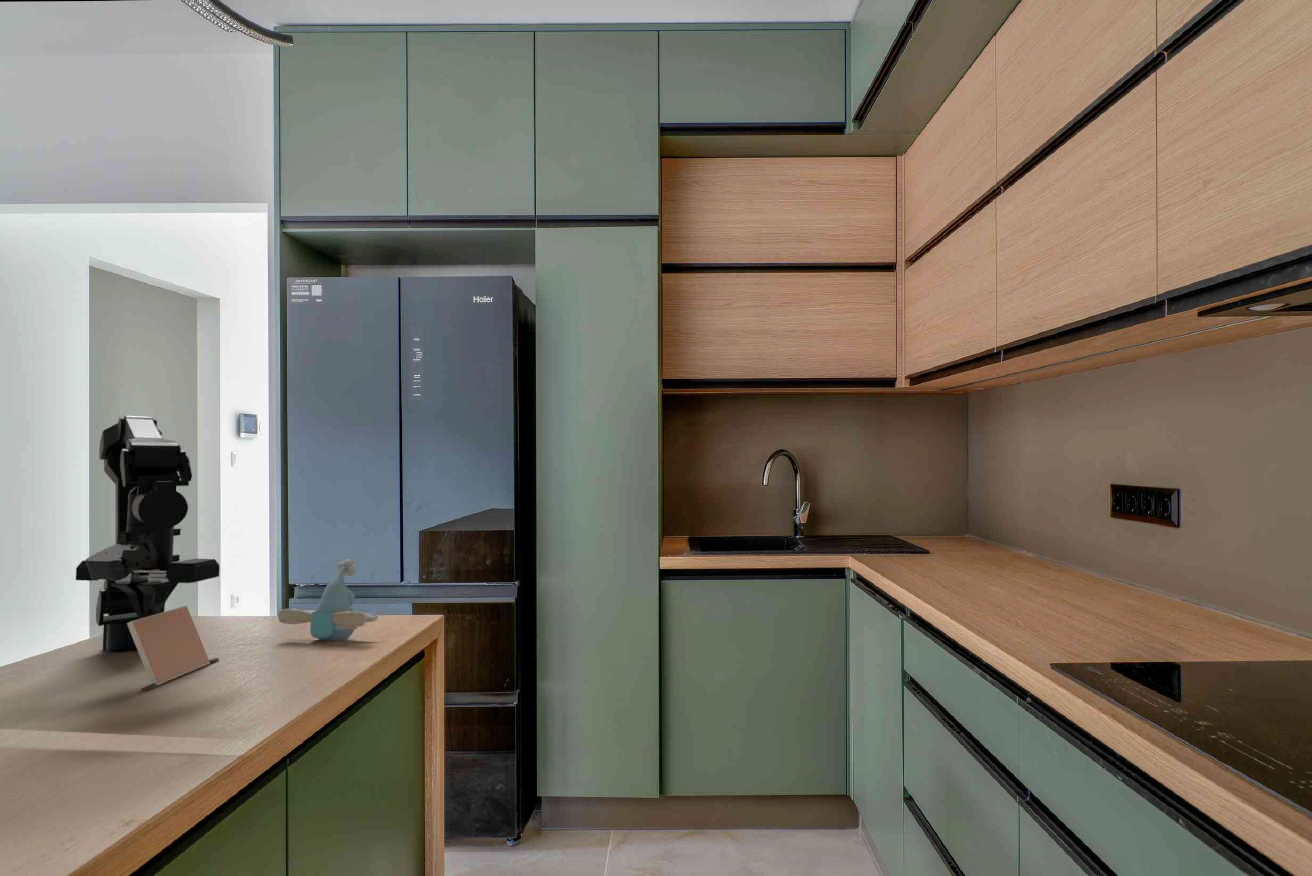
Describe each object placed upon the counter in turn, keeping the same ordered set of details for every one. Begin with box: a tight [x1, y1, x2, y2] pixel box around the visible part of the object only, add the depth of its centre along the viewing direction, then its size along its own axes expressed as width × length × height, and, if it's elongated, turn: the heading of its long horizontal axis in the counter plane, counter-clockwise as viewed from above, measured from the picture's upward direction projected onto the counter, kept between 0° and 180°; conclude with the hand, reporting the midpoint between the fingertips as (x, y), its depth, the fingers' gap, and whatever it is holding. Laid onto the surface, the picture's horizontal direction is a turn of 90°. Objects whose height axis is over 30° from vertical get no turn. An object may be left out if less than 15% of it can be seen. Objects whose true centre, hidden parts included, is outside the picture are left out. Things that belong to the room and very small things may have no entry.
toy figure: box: [278, 558, 379, 642], centre depth 121 cm, size 17×10×15 cm, turn 84°
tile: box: [127, 605, 210, 686], centre depth 98 cm, size 10×10×1 cm
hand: (146, 626), depth 98 cm, fingers closed
